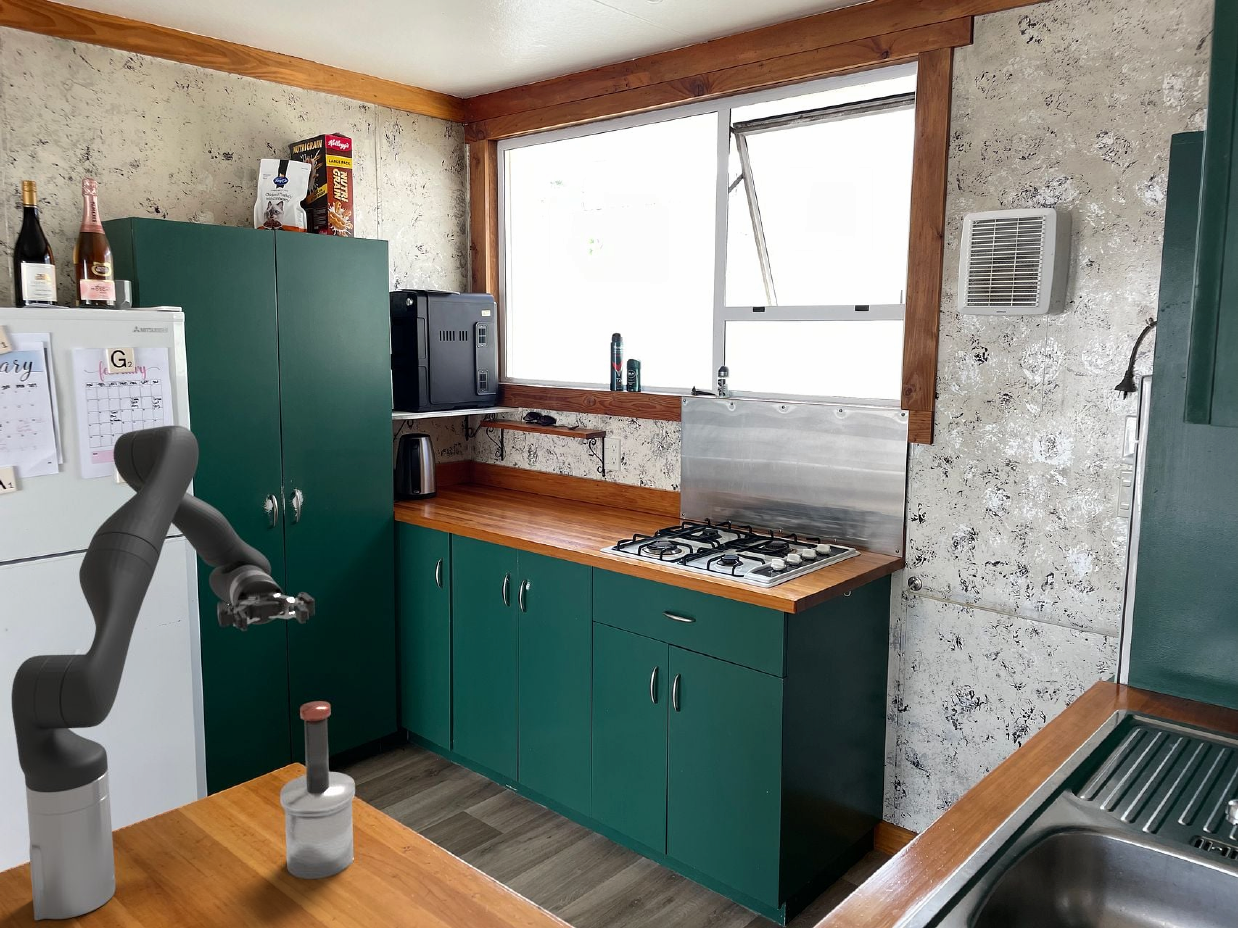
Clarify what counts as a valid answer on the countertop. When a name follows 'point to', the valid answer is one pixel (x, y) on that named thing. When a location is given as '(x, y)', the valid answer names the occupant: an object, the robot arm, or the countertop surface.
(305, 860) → the pot
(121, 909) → the countertop surface
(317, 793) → the lid
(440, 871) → the countertop surface
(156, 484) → the robot arm
